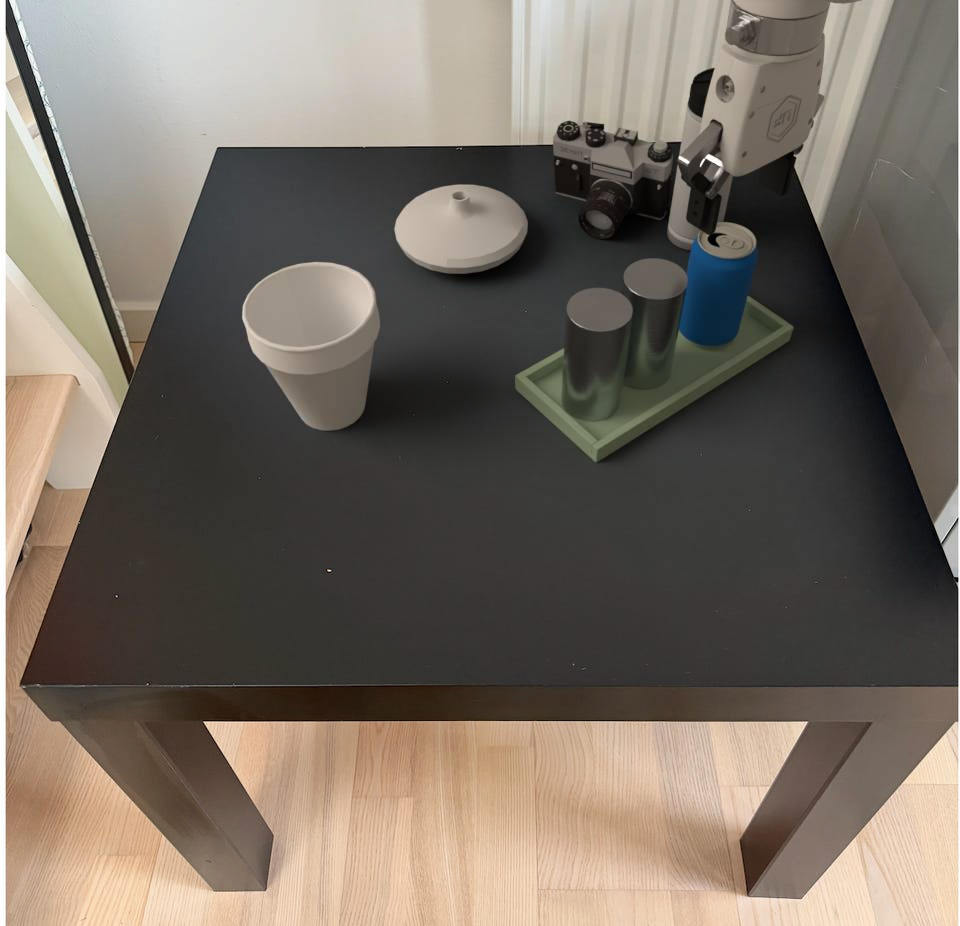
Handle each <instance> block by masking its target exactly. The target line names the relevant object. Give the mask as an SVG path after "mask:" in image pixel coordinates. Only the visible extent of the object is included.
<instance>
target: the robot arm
mask: <svg viewBox="0 0 960 926" xmlns="http://www.w3.org/2000/svg"><path fill="white" fill-rule="evenodd" d="M860 1H862V0H730V3H729V10H728V15H727V22H726V27H725V32H724V42H725V43H724V44H722V46H721V48H720V51H719V54H718V56H717V60H716V63H715V66H714V68H715V69H714V72H713V76H712V79H711V83H710V87H709V90H708V94H707V98H706V103H705V107H704V112H703V117H702V122H701V128H700V135H699V136H698V137H697V138H696V139H695V140H694V141H693V142H692V143H691V144H690V145H689V146H688V148H687V149H686V150H685V151H684V152H683V153H682V154H681V155H680V156H679V155H678V158H677V160H676V163H677V166H679V169H680V172H681V179H682V180H683V181H684V182H685V183H686V184H687V186H689V187H691V190H690V196H689V202H688V208H687V214H686V220H687V222H688V223H690V224H692V225H693V226H695V227H696V228H698V229H700V230H701V231H703V232H704V233H706V234H707V235H711V234H713V233H714V232H715V230H716V226H717V221H718V216H719V210H720V205H721V200H722V196H721V195H720V194H718V192H719V190H720V189H721V187H722V186H723V184H724V183H725V181H726V180H727V178H728V176H729V175H730V174H731V175H733V177H743V176H746V175H747V174H750V173H752V172H754V171H756V170H758V169H760V170H759V175H758V179H757V183H758V184H759V185H761V186H763V187H764V188H766V189H767V190H770V191H771V192H773V193H775V194H777V195H778V196H781V197H782V196H785V195H786V194H788V193H789V189H790V185H791V182H792V177H793V174H794V169H795V166H796V163H797V162H796V161H797V155H799V154H800V153H802V151H803V149H804V146H805V145H804V144H805V143H806V141H807V140H808V138H809V137H810V133H811V130H812V129H813V126H814V122H815V121H814V118H816V116H817V115H818V112H819V111H820V108H821V106H822V105H823V103H824V100H825V95H823V94H821V93H820V90H821V89H820V88H821V82H822V77H823V69H824V63H825V51H826V50H825V49H826V43H825V41H826V36H825V33H824V30H825V26H826V22H827V18H828V15H829V10H830V6H831V3H833V4H841V5H842V4H843V5H845V4H853V3H856V2H860ZM720 152H721V157H722V160H721V159H719V158H717V157H716V156H715V155H716V154H718V153H720ZM711 163H712V164H713V165H715V166H717V167H719V169H718V171H717V173H716V174H715V176H714V177H713V179H712V180H711V181H710V180H709V179H707V178H706V177H705V176H704V174H705V173H706V171H707V170H708V168H709V167H710V165H711Z"/></svg>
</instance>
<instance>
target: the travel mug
mask: <svg viewBox="0 0 960 926" xmlns="http://www.w3.org/2000/svg"><path fill="white" fill-rule="evenodd" d="M714 69H715V67H711V68H707V69H705V70H702V71H701V72H699V73H697V74H696V75H695V76H694V77H693V79H692V83H691V84H690V89H689V96H688V100H687V104H686V111H685V117H684V123H683V130H682V136H681V142H680V149H679V155H678V157H679V156H680V155H681V154H682V153H683V152H684V151H685V150H686V149H687V148H688V146H689V145H690V144H691V143H692V142H693V141H694V140H695V139H696V138H697V137H698V136H699V135H700V128H701V122H702V117H703V112H704V107H705V103H706V98H707V94H708V90H709V87H710V83H711V79H712V76H713V72H714ZM715 156H716V157H717V158H719V159H721V160H722V157H721V152H720V153H718V154H716V155H715ZM718 169H719V167H717V166H715V165H713V164H712V163H711V165H710V167H709V168H708V170H707V171H706V173H705V174H704V176H705V177H706V178H707V179H709V180H710V181H711V180H712V179H713V177H714V176H715V174H716V173H717V171H718ZM733 179H734V176H733V175H731V174H730V175H729V176H728V178H727V180H726V181H725V183H724V184H723V186H722V187H721V189H720V190H719V192H718V194H720V195H721V196H722V200H721V205H720V210H719V216H718V221H717V223H718V222H724V220H725V215H726V211H727V206H728V201H729V197H730V192H731V187H732V182H733ZM690 190H691V187H689V186H687V184H686V183H685V182H684V181H683V180H682V179H681V172H680V169H679V166H678V165H677V166H676V174H675V180H674V186H673V193H672V199H671V203H670V205H671V206H670V212H669V218H668V224H667V231H666V235H667V238H668V240H669V241H670V243H672V244H673V245H674V246H676V247H677V248H679V249H682V250H684V251H690V252H691V247H692V243H693V241H694V240H695V239H696V237H697V236H698V234H699V232H700V231H701V230H700V229H698V228H696V227H695V226H693V225H692V224H690V223H688V222H687V220H686V214H687V208H688V202H689V196H690Z"/></svg>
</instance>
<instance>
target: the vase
mask: <svg viewBox="0 0 960 926" xmlns="http://www.w3.org/2000/svg"><path fill="white" fill-rule="evenodd" d="M528 222H529V220H528V219H527V216H526V213H525V211H524V210H523V208H521V206H520V205H519V204H518V203H517V202H516V201H515V200H514V199H513V198H512V197H510V196H509V195H507V194H505V193H504V192H502V191H499V190H497V189H494V188H492V187H489V186H483V185H477V184H451V185H443V186H440V187H436V188H433V189H429V190H428V191H425V192H424V193H422V194H419V195H418V196H416V197H414V198H413V199H412V200H411V201H409V203H407V204H406V205H405V207H403V209H401V212H400V213H399V215H398V216H397V218H396V220H395V225H394V228H393V231H394V234H395V239H396V242H397V243H398V245H399V247H400V249H401V250H402V251H403V253H404V254H405V256H406V257H407V258H408V259H410V260H411V261H412V262H414V263H415V264H416V265H418V266H421V267H423V268H426V269H428V270H429V271H435V272H438V273H444V274H455V275H456V274H459V275H460V274H461V275H465V274H473V273H480V272H484V271H487V270H490V269H493V268H496V267H498V266H500V265H501V264H504V263H505V262H507V261H509V260H510V259H512V258H513V256H514V255H515V254H517V252H518V251H519V250H520V249H521V247H522V245H523V243H524V241H525V239H526V236H527V234H528V226H529V225H528V224H529V223H528Z"/></svg>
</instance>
